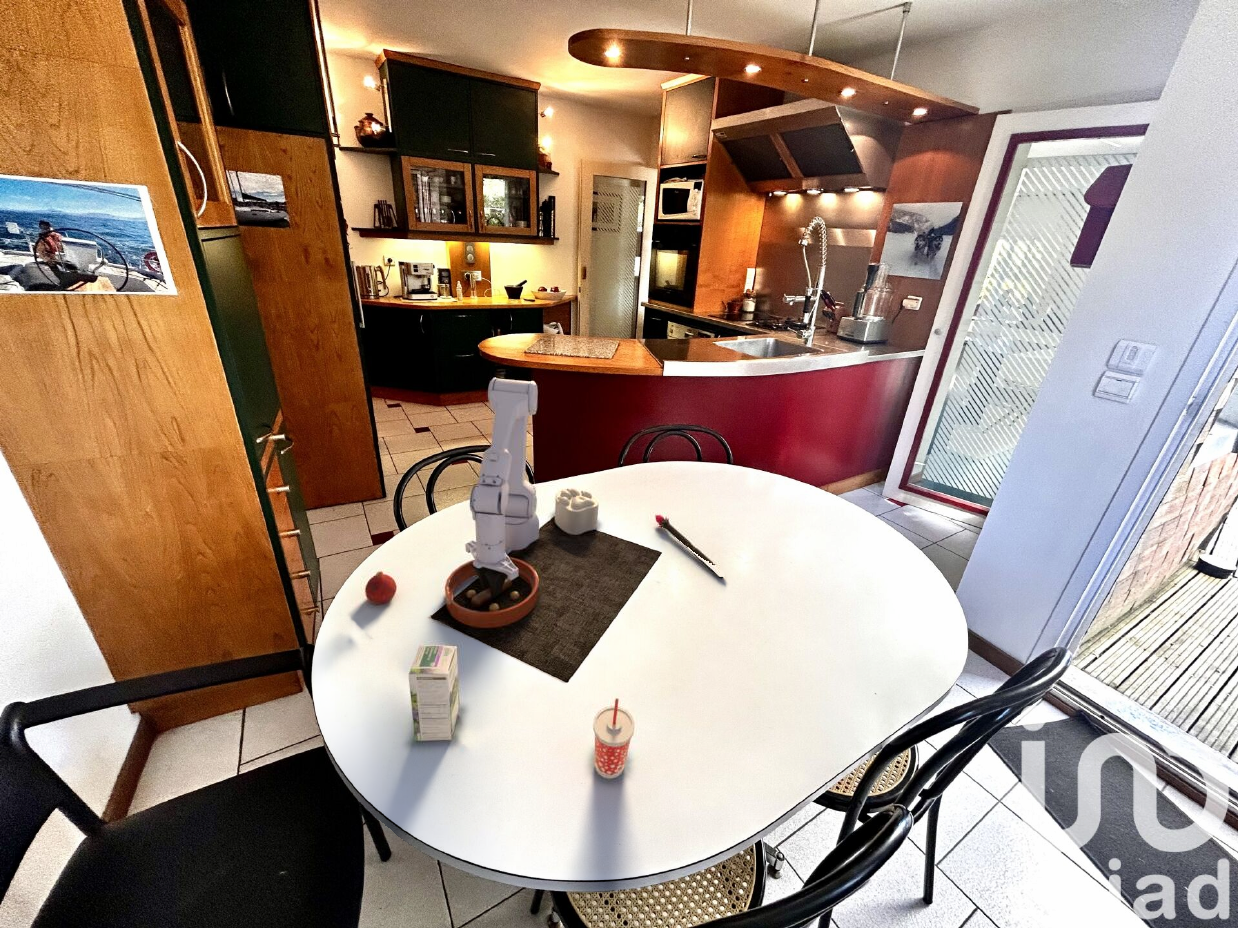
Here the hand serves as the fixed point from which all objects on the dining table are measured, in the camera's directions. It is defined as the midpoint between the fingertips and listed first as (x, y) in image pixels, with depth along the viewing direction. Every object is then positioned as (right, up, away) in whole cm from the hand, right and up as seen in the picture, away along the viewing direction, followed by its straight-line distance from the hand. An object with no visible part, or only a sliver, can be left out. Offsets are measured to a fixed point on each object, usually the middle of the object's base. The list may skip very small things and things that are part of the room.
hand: (492, 591), depth 105 cm
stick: (0, -1, +1) cm, 1 cm away
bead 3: (+5, -1, +1) cm, 5 cm away
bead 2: (+1, -3, -3) cm, 4 cm away
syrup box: (-2, -15, -26) cm, 30 cm away
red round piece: (-22, -2, -2) cm, 23 cm away
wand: (+45, +5, +26) cm, 53 cm away
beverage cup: (+26, -19, -30) cm, 44 cm away
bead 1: (-5, -1, 0) cm, 5 cm away
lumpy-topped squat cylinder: (+14, +11, +34) cm, 39 cm away
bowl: (0, -2, +1) cm, 3 cm away
